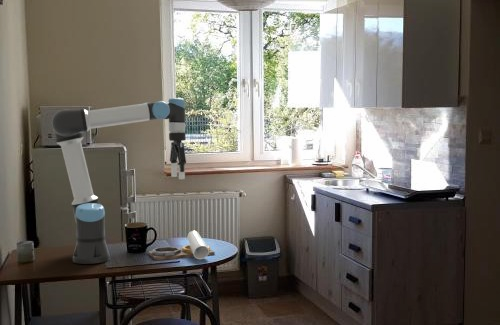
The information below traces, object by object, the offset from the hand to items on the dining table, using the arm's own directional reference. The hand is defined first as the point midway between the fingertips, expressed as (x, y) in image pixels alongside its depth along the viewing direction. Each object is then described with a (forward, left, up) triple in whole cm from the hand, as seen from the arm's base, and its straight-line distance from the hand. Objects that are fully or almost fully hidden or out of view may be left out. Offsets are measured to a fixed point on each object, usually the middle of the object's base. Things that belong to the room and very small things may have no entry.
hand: (177, 178), depth 270 cm
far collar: (+12, -15, -30) cm, 36 cm away
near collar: (0, -21, -30) cm, 37 cm away
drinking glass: (+10, -15, -24) cm, 30 cm away
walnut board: (+6, -18, -32) cm, 37 cm away
